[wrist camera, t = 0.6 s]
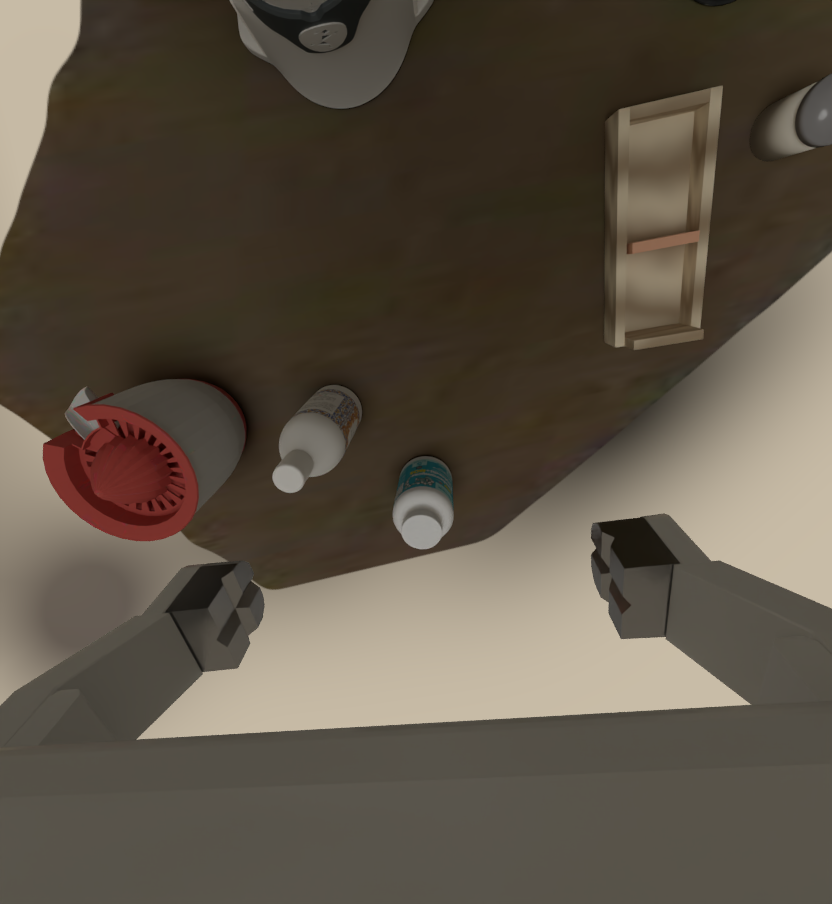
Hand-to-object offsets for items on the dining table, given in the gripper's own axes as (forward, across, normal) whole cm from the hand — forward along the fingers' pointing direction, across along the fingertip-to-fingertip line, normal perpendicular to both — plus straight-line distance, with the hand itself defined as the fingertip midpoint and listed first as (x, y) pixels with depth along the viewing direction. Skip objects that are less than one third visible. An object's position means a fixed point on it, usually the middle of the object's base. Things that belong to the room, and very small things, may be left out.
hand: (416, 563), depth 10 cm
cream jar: (+45, -36, -12) cm, 59 cm away
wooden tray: (+45, -24, -5) cm, 51 cm away
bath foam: (+45, +15, +9) cm, 48 cm away
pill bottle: (+45, +4, +21) cm, 50 cm away
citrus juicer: (+45, +34, +8) cm, 56 cm away
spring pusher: (+43, -24, -4) cm, 50 cm away
